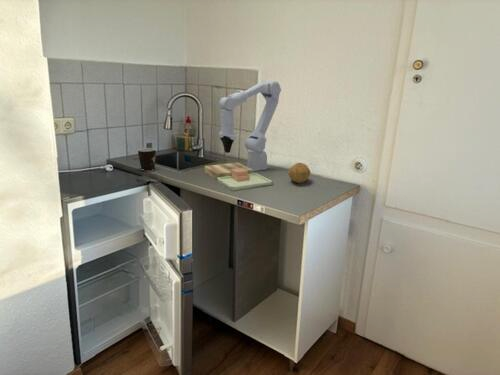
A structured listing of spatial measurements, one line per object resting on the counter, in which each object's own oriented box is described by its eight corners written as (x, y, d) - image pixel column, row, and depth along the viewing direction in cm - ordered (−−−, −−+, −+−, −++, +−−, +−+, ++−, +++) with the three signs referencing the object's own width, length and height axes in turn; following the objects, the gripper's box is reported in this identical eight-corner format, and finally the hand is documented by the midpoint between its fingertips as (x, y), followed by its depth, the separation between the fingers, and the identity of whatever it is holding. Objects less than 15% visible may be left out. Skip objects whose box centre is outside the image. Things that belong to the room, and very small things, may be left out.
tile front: (243, 176, 177) (243, 172, 176) (249, 180, 172) (249, 175, 171) (231, 178, 174) (231, 174, 174) (237, 181, 169) (237, 177, 169)
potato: (285, 185, 168) (286, 167, 166) (290, 177, 181) (291, 160, 179) (307, 187, 166) (308, 169, 163) (311, 178, 179) (312, 162, 176)
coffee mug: (149, 166, 196) (147, 147, 194) (160, 169, 192) (159, 149, 189) (130, 170, 187) (128, 150, 184) (141, 173, 183) (140, 153, 180)
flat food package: (237, 168, 196) (237, 162, 195) (252, 175, 182) (252, 169, 181) (204, 172, 187) (204, 166, 186) (217, 180, 174) (217, 173, 173)
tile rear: (242, 172, 178) (242, 167, 177) (248, 175, 173) (248, 170, 172) (230, 173, 175) (230, 169, 174) (236, 176, 170) (236, 172, 169)
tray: (255, 176, 182) (255, 172, 181) (273, 184, 168) (273, 181, 168) (216, 181, 173) (216, 177, 172) (231, 190, 159) (231, 187, 159)
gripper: (213, 122, 183) (213, 150, 187) (226, 126, 171) (226, 156, 175) (226, 121, 186) (226, 149, 190) (240, 125, 174) (240, 154, 178)
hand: (227, 152), depth 182 cm, fingers closed
